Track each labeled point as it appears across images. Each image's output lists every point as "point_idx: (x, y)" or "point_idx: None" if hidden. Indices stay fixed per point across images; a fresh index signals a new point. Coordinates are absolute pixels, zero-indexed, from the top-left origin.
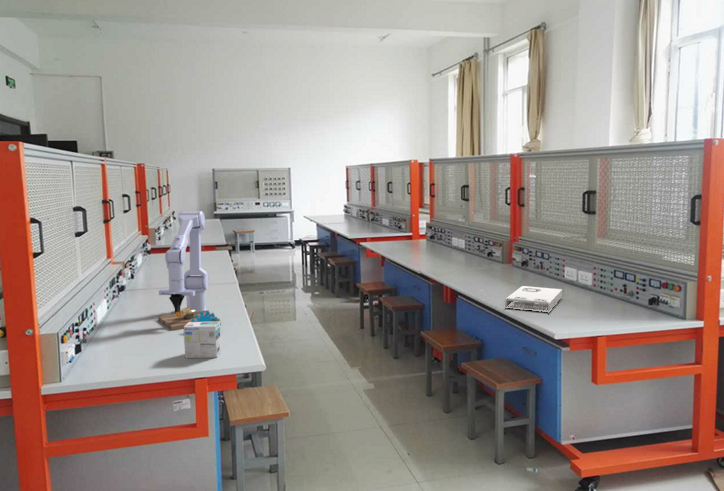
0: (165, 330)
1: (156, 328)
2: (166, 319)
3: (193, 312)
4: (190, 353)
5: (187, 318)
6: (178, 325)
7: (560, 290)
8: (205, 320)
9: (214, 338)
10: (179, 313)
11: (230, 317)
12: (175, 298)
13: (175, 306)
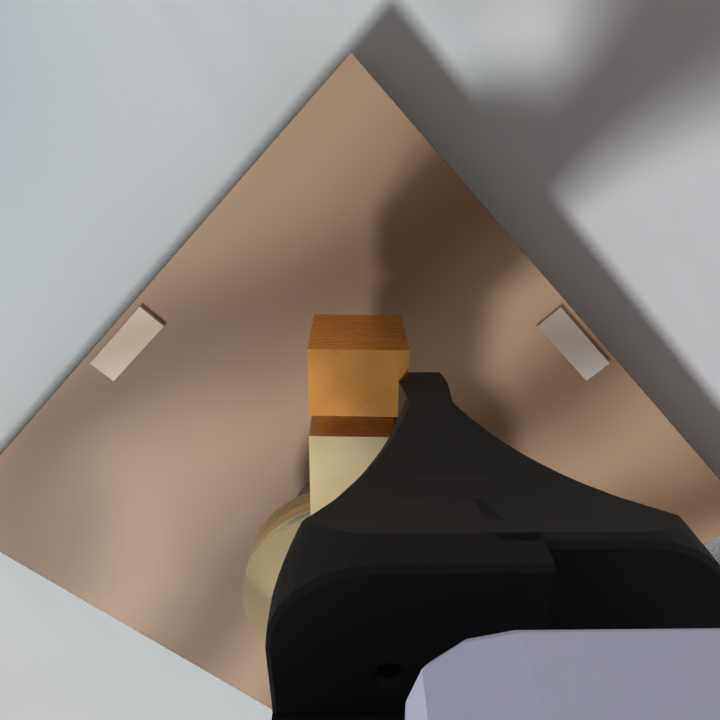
0: (455, 39)
1: (635, 131)
2: (603, 415)
3: (251, 551)
4: None
5: None
6: (280, 138)
7: None
8: None
9: None
10: (332, 340)
11: (18, 655)
12: (417, 529)
13: (436, 424)
